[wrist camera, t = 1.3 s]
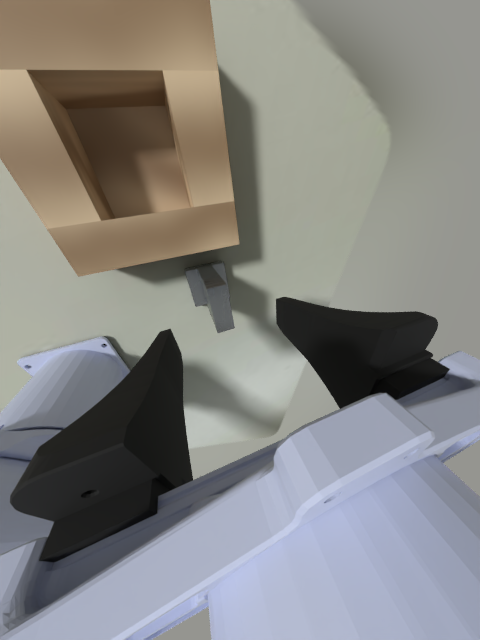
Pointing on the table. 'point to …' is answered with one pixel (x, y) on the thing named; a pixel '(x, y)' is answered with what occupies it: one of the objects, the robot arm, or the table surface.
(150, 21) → the well block
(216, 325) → the grey block
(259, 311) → the table surface
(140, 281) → the table surface
